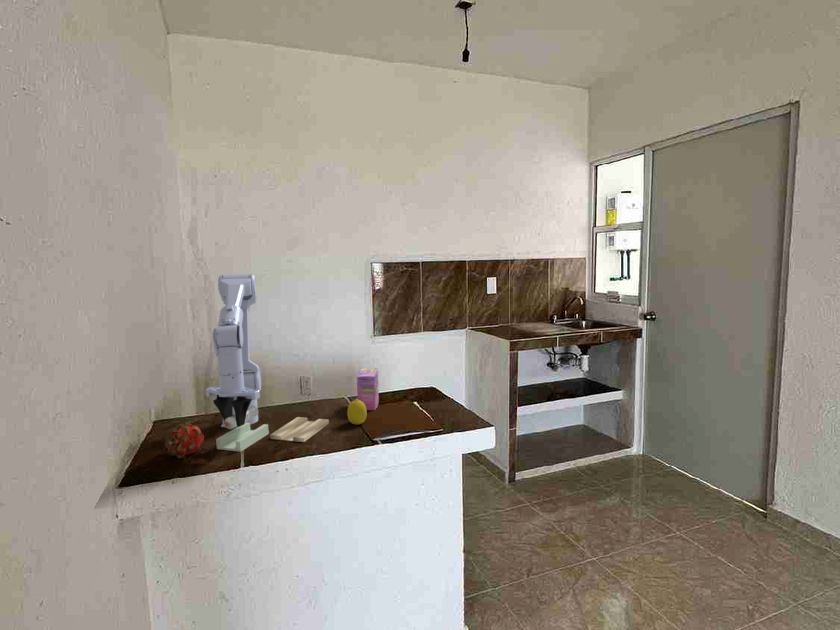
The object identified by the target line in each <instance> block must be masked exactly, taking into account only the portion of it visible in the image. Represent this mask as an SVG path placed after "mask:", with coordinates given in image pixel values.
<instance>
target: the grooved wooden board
mask: <svg viewBox="0 0 840 630" xmlns="http://www.w3.org/2000/svg"><path fill="white" fill-rule="evenodd" d="M328 424H330V419H325V418H318V419H316V420H315V421H312V420H311V421H310V420H308V417H302V416H301V417H300V416H297V417H295V418H294V419H293V420H291V421H289V422H287V423H286V424H284V425H283V426H281V427H280V428H278V429H277V430H275V431H273V432H272V433H270V434H269V437H270V439H271V440H280V441H289V442H299V443H300V442H301V443H305V442H306V441H307V440H309V439H310V438H312V437H313V436H314V435H315V434H317V433H318V432H319V431H321V430H322V429H323V428H324V427H326V426H328Z"/></svg>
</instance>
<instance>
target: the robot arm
mask: <svg viewBox="0 0 840 630" xmlns="http://www.w3.org/2000/svg"><path fill="white" fill-rule="evenodd" d="M256 279H257V278H256V276H255V274H254V273H250V274H248V273H246V274H244V273H243V274H220V275H219V276H218V280H217V283H218V284H217V287H218V292H219V296H220V299H221V301H222V302H223V304H224V306H223V307H221V309H220V311H219V316H218V322H217V327H216V328H215V327H214V328H213V331H212V341H213V342H212V343H213V347H214V350H215V356H216V357H217V369H218V382H219V386H210V387H208V388H205V396H206V397H216V398H215V399H213V404H214V405H215V407H216V408H217V409H218V411H219V413H220V415H221V419H222V424H221V426H220V427H221V428H226V426H225V424H224V421H225V419H226V418H228V417H230V416H232V415H234V414H235V415H236V423H237V427H240V426H242V425H244V424H245V423H250V425H253V424H255V423H257V422H258V421H259V414H258V415H257V416H256V417H254V418H252V419H250V420H248V421H246V422H245V418H246V413H247V410H248V408H249V407H251V406H256V407H257V408H258V399H260V398H261V393H260V392H261V389H262V376H261V368H260V367H259V365H258V364H257V363H254V362H253V361H252V360H251V359H250V357H251V356H250V352H251V351H250V322H249V321H250V316H249V314H250V309H251V306H252V305H254V304H256V302H257V280H256ZM237 427H236V428H237Z"/></svg>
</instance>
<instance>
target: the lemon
mask: <svg viewBox="0 0 840 630" xmlns="http://www.w3.org/2000/svg"><path fill="white" fill-rule="evenodd" d="M367 411H368V410H366V406H365V404H364V403H363V402H362V401H360V400H358V399H357V398H355V399H354V400H352V401H351V402H349V404H348V406H347V419H348V421H349V422H350V424H353V425H354V426H355V425H361V424H363V423H364V422H365V421H366V419H367V415H368V414H367Z"/></svg>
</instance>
